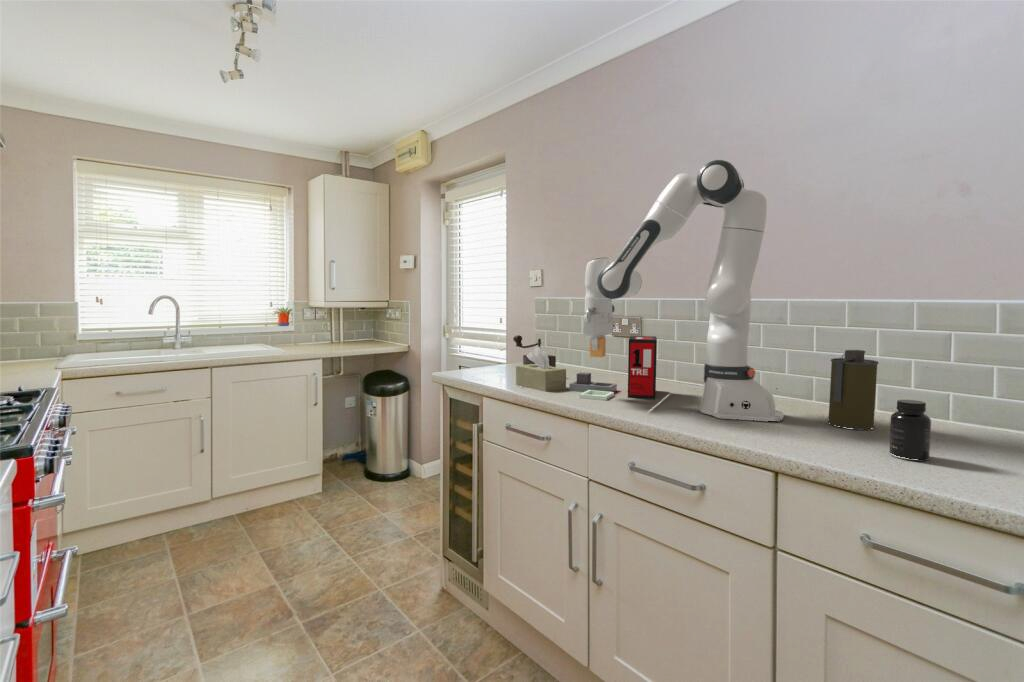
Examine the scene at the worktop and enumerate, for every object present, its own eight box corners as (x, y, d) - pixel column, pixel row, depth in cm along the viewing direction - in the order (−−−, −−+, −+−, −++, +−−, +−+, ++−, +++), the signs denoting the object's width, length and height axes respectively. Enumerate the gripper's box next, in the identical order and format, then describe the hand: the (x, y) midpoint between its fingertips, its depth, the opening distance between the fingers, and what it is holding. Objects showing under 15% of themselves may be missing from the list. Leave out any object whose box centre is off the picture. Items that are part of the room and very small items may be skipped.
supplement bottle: (911, 451, 113) (914, 398, 112) (937, 461, 106) (941, 404, 105) (880, 452, 112) (884, 398, 111) (905, 462, 106) (909, 404, 105)
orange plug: (605, 355, 172) (605, 338, 171) (601, 357, 168) (601, 338, 168) (594, 355, 173) (594, 337, 173) (590, 356, 170) (590, 338, 169)
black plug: (590, 389, 186) (591, 373, 185) (587, 391, 182) (587, 374, 182) (580, 388, 188) (580, 372, 187) (576, 390, 184) (576, 373, 184)
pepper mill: (541, 374, 225) (541, 333, 224) (556, 377, 216) (556, 335, 214) (511, 377, 217) (511, 335, 216) (525, 381, 208) (525, 336, 206)
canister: (845, 419, 143) (849, 347, 141) (884, 428, 133) (888, 351, 131) (817, 422, 139) (821, 349, 137) (855, 432, 129) (859, 353, 127)
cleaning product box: (629, 390, 187) (630, 335, 185) (654, 391, 184) (656, 336, 182) (627, 399, 171) (628, 339, 169) (655, 400, 168) (656, 340, 167)
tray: (613, 397, 174) (614, 392, 174) (605, 402, 166) (605, 396, 166) (588, 394, 178) (588, 389, 178) (579, 399, 170) (579, 394, 170)
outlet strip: (616, 392, 184) (616, 383, 183) (609, 395, 177) (610, 387, 176) (577, 388, 191) (577, 380, 190) (569, 392, 184) (569, 383, 183)
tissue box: (515, 386, 197) (515, 345, 195) (535, 383, 202) (535, 343, 201) (545, 393, 181) (546, 349, 180) (566, 390, 187) (567, 347, 186)
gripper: (597, 308, 159) (597, 352, 160) (616, 307, 177) (616, 347, 178) (578, 308, 162) (578, 351, 163) (598, 307, 180) (598, 346, 181)
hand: (598, 349), depth 171 cm, fingers closed on orange plug, 4 cm apart
